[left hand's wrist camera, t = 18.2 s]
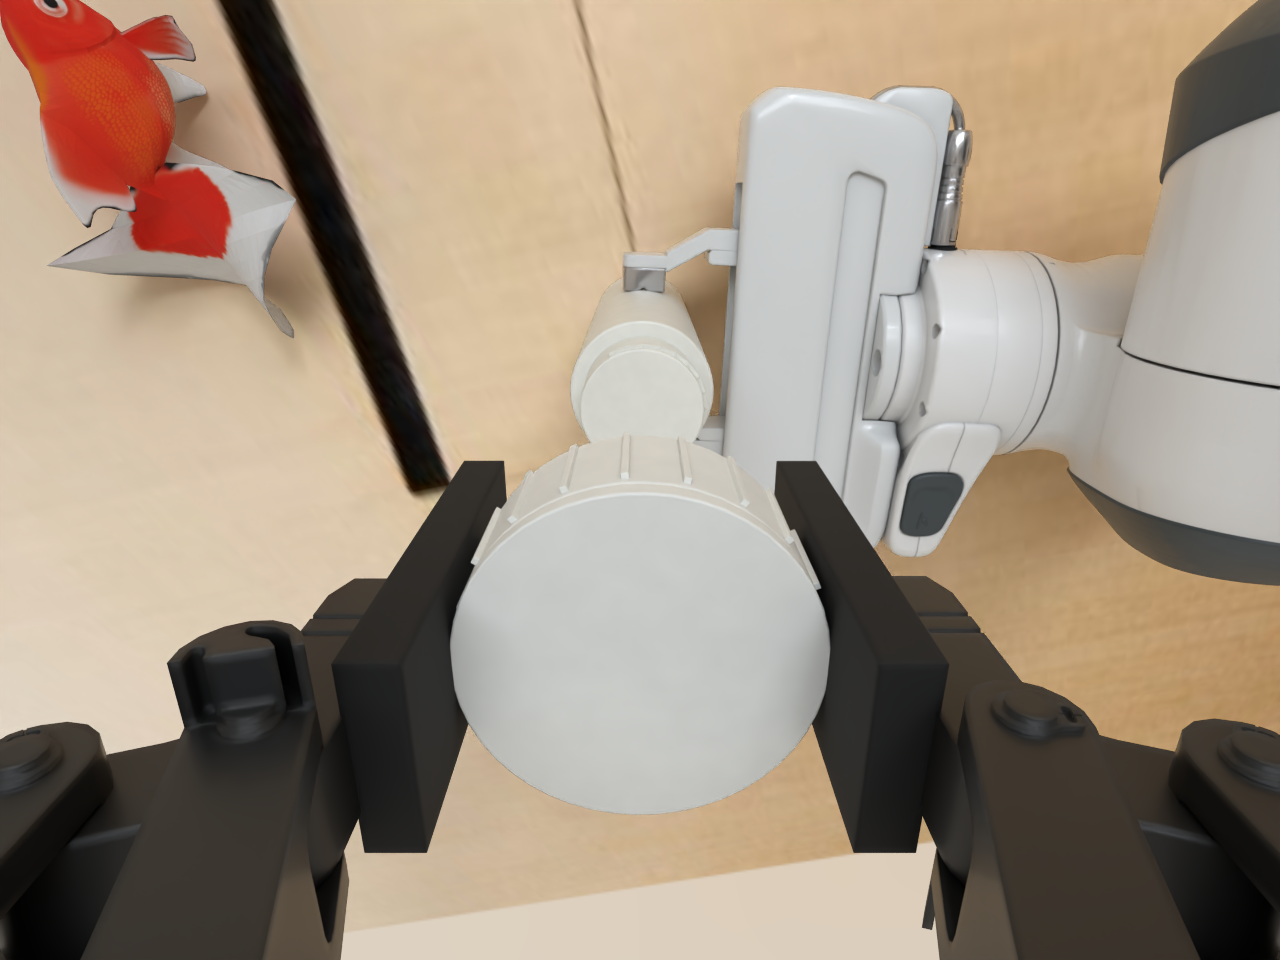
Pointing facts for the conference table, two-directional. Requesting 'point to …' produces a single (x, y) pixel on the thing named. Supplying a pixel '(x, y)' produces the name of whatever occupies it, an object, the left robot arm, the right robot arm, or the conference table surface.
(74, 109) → the fish
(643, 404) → the white bottle
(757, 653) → the lid
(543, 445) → the conference table surface
